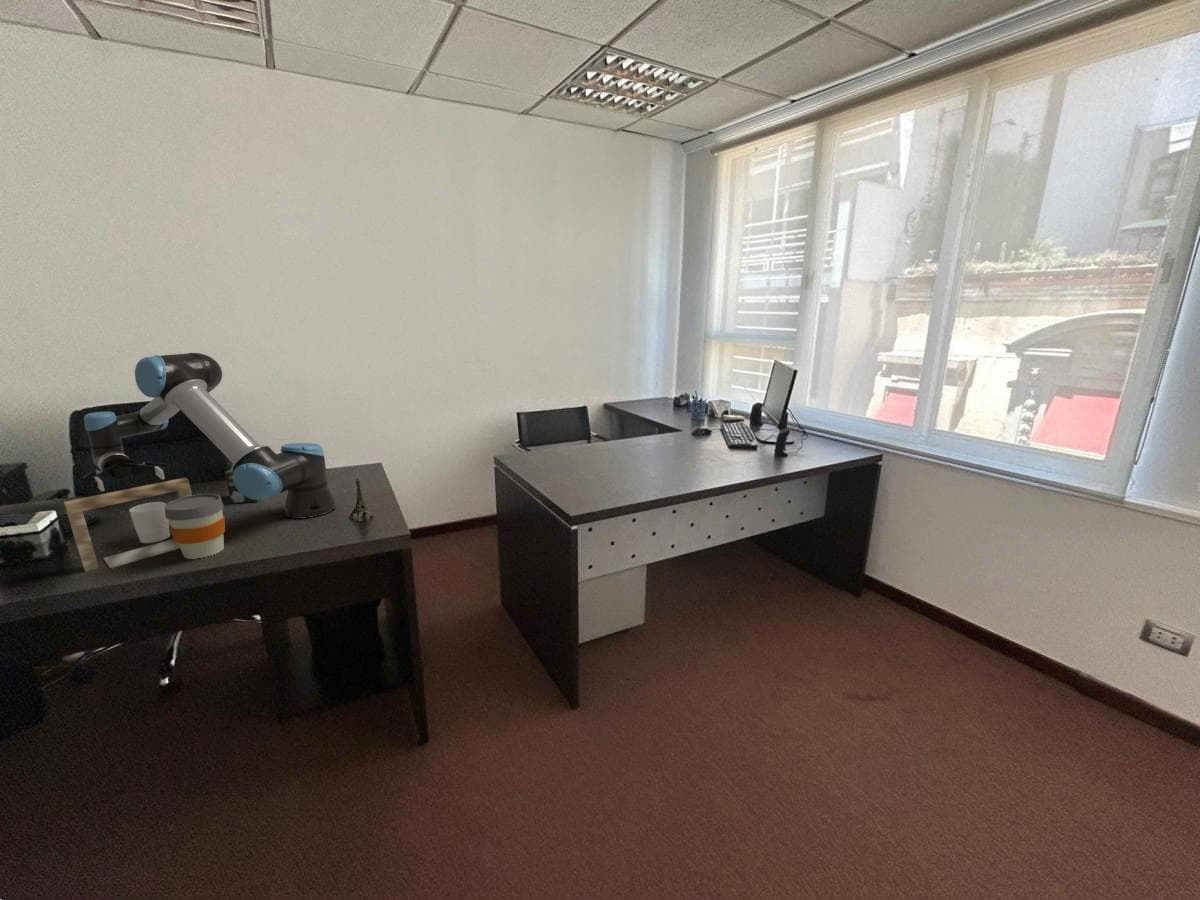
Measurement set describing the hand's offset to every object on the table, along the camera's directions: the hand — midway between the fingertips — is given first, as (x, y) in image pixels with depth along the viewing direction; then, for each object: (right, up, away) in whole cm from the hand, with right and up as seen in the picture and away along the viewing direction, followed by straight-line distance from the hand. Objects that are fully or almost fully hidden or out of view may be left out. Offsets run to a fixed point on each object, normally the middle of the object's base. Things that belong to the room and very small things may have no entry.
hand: (133, 480), depth 149 cm
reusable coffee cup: (+28, -20, -8) cm, 35 cm away
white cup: (+8, -17, -1) cm, 19 cm away
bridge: (+13, -19, -10) cm, 25 cm away
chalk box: (+14, -8, +30) cm, 34 cm away
